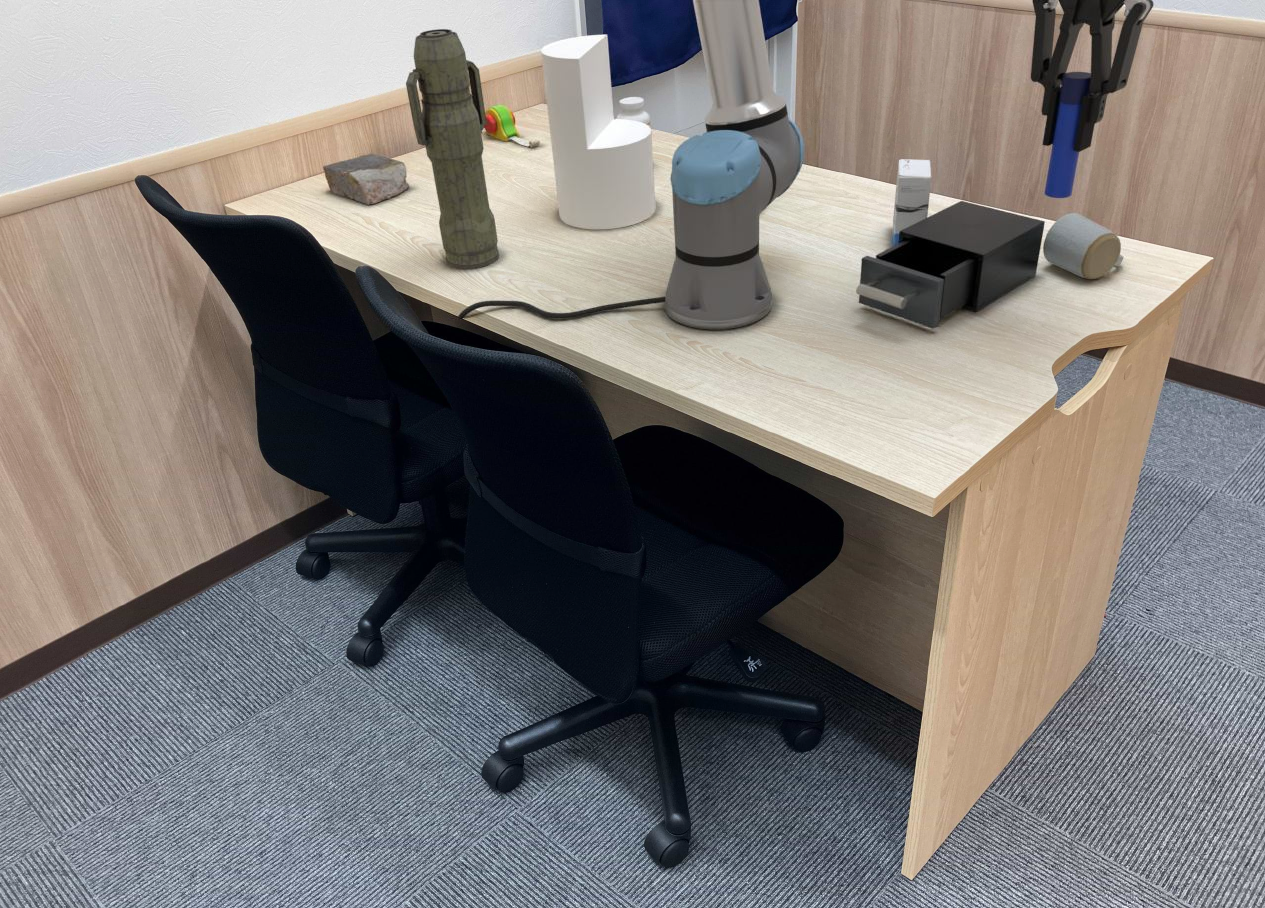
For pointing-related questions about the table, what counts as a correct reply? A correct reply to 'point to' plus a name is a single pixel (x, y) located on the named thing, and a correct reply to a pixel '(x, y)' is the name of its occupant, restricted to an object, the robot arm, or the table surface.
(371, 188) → the geological specimen
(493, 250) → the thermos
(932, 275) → the drawer
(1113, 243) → the ceramic mug
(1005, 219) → the drawer unit
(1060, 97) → the marker
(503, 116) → the toy measuring tape
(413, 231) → the table surface
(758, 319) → the robot arm
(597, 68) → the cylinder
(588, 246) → the table surface
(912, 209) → the ink box
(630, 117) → the supplement bottle
